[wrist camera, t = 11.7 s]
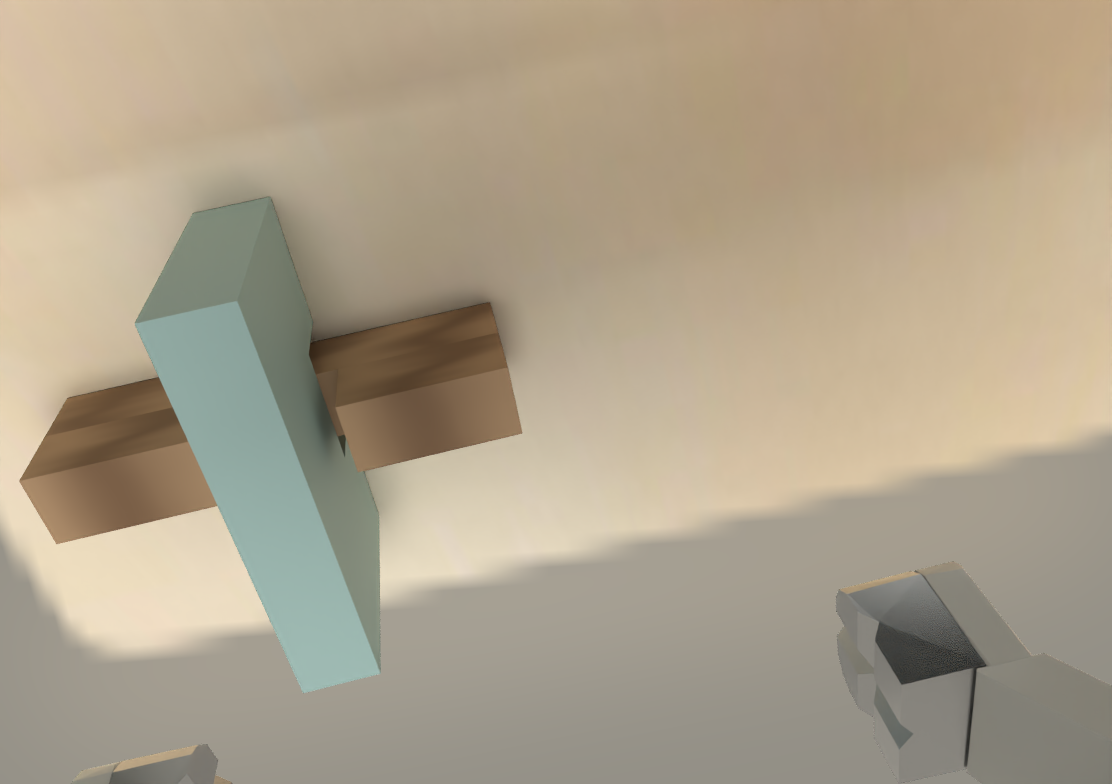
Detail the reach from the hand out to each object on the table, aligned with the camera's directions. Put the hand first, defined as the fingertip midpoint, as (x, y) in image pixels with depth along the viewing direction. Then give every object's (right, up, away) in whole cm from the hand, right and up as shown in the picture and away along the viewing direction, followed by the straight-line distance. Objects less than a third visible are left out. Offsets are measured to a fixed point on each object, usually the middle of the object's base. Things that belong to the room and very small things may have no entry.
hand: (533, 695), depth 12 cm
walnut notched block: (-11, +4, +27) cm, 30 cm away
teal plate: (-11, +4, +28) cm, 30 cm away
